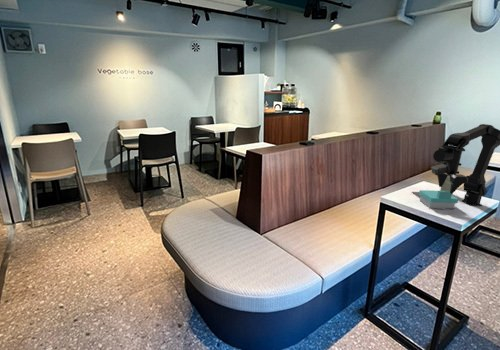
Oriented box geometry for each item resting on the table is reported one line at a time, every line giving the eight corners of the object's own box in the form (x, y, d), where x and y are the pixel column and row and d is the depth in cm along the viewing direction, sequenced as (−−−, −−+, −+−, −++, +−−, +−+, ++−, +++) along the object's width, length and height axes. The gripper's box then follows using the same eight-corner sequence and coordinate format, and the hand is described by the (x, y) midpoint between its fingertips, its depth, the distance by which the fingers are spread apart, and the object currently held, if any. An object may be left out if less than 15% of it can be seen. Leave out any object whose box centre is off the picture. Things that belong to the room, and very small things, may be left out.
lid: (444, 194, 155) (446, 184, 154) (457, 203, 145) (460, 192, 143) (419, 193, 156) (421, 184, 154) (430, 202, 145) (432, 191, 143)
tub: (442, 201, 156) (444, 193, 154) (453, 209, 146) (455, 200, 145) (419, 200, 156) (421, 192, 155) (429, 208, 147) (431, 199, 145)
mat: (435, 193, 168) (436, 192, 168) (447, 200, 158) (447, 199, 157) (411, 192, 169) (411, 191, 169) (421, 199, 158) (421, 198, 158)
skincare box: (452, 194, 167) (457, 174, 163) (451, 196, 163) (456, 176, 160) (439, 191, 170) (444, 172, 167) (438, 193, 167) (443, 173, 163)
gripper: (425, 155, 148) (419, 183, 153) (447, 165, 131) (440, 196, 135) (447, 155, 148) (441, 184, 153) (472, 165, 130) (464, 197, 135)
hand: (445, 190), depth 144 cm, fingers open, 9 cm apart
